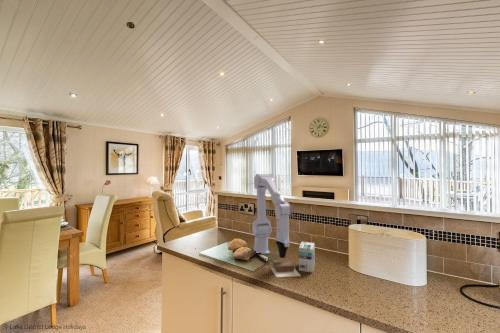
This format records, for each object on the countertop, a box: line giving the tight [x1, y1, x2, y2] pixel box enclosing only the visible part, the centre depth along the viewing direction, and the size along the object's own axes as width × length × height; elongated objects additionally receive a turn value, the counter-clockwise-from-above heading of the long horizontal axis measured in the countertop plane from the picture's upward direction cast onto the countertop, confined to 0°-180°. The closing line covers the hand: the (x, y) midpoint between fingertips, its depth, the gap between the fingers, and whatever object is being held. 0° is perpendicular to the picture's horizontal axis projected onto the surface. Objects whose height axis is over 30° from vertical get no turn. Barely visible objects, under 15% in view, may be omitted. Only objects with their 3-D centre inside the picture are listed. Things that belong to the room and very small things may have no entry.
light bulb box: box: [298, 241, 316, 273], centre depth 115 cm, size 11×7×11 cm, turn 161°
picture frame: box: [272, 259, 295, 272], centre depth 113 cm, size 3×8×7 cm
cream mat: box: [270, 266, 301, 278], centre depth 110 cm, size 10×11×1 cm
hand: (282, 257), depth 114 cm, fingers closed
